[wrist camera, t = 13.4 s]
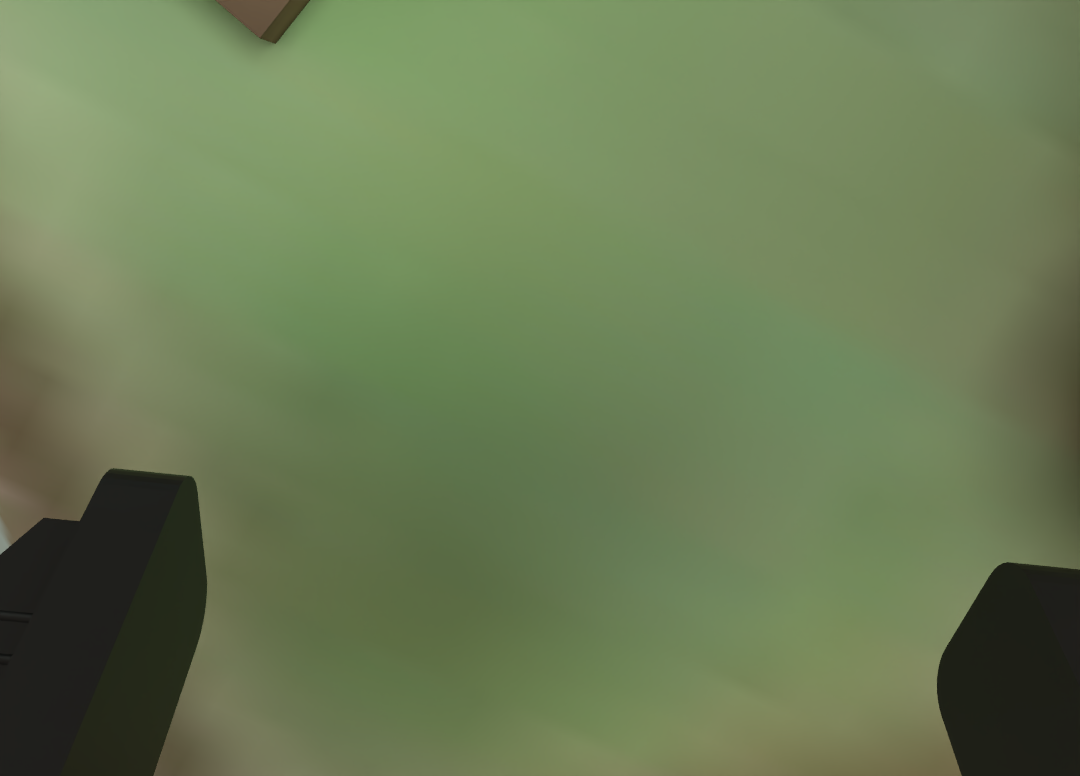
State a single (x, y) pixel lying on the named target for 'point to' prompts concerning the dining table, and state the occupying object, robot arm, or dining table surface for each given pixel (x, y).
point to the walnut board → (265, 15)
